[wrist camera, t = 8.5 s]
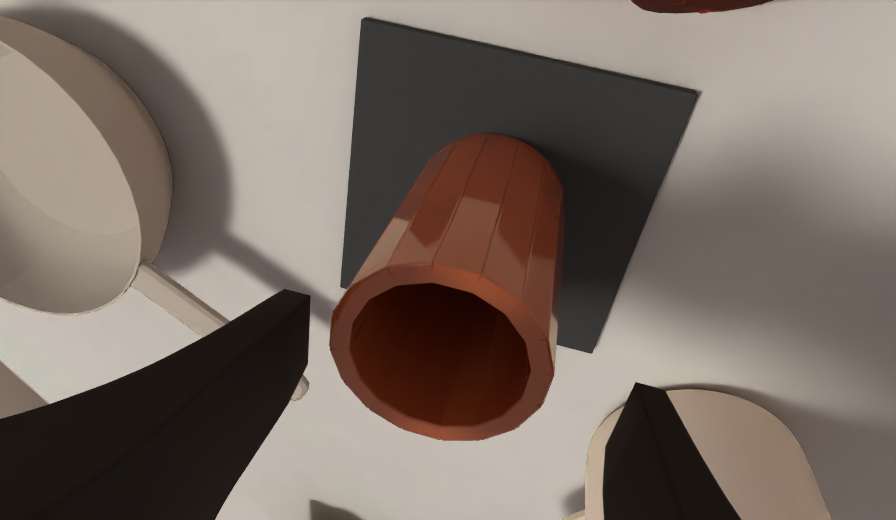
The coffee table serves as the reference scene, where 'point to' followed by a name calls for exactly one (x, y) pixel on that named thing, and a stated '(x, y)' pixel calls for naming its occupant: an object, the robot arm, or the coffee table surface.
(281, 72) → the coffee table surface
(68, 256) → the frying pan
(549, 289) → the terracotta cup
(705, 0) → the donut
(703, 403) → the mug
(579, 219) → the mat
